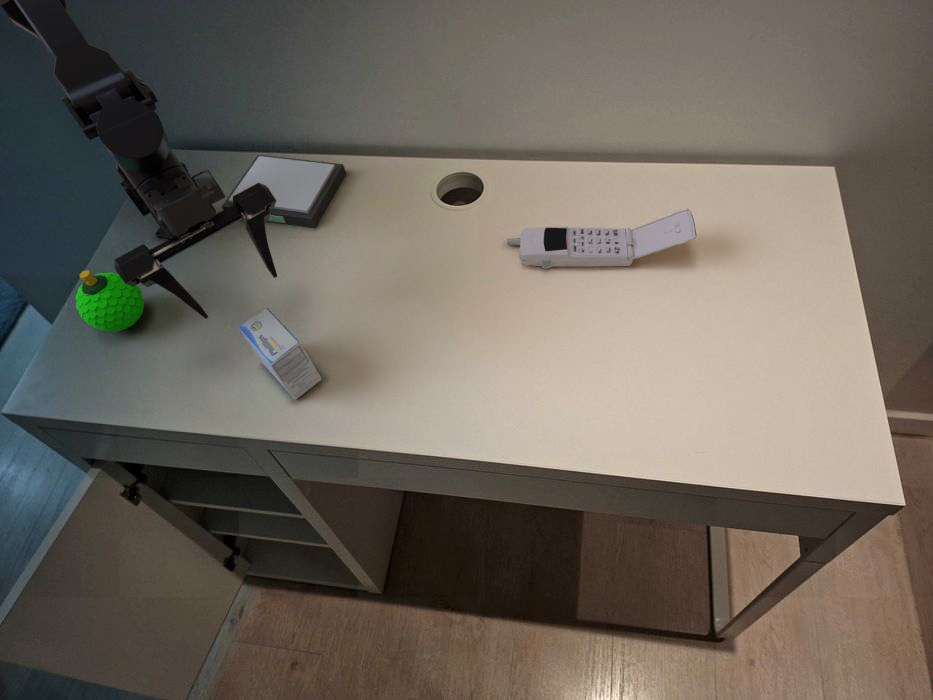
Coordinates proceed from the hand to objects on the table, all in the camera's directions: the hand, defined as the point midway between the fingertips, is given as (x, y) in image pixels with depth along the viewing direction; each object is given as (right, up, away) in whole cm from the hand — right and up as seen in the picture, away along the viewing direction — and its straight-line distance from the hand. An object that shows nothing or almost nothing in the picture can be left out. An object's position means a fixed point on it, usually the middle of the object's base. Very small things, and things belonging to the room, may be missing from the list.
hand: (242, 297), depth 71 cm
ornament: (-22, -2, +15) cm, 27 cm away
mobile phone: (+45, +7, +14) cm, 48 cm away
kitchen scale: (-3, +19, +27) cm, 34 cm away
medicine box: (+4, -9, +7) cm, 12 cm away
